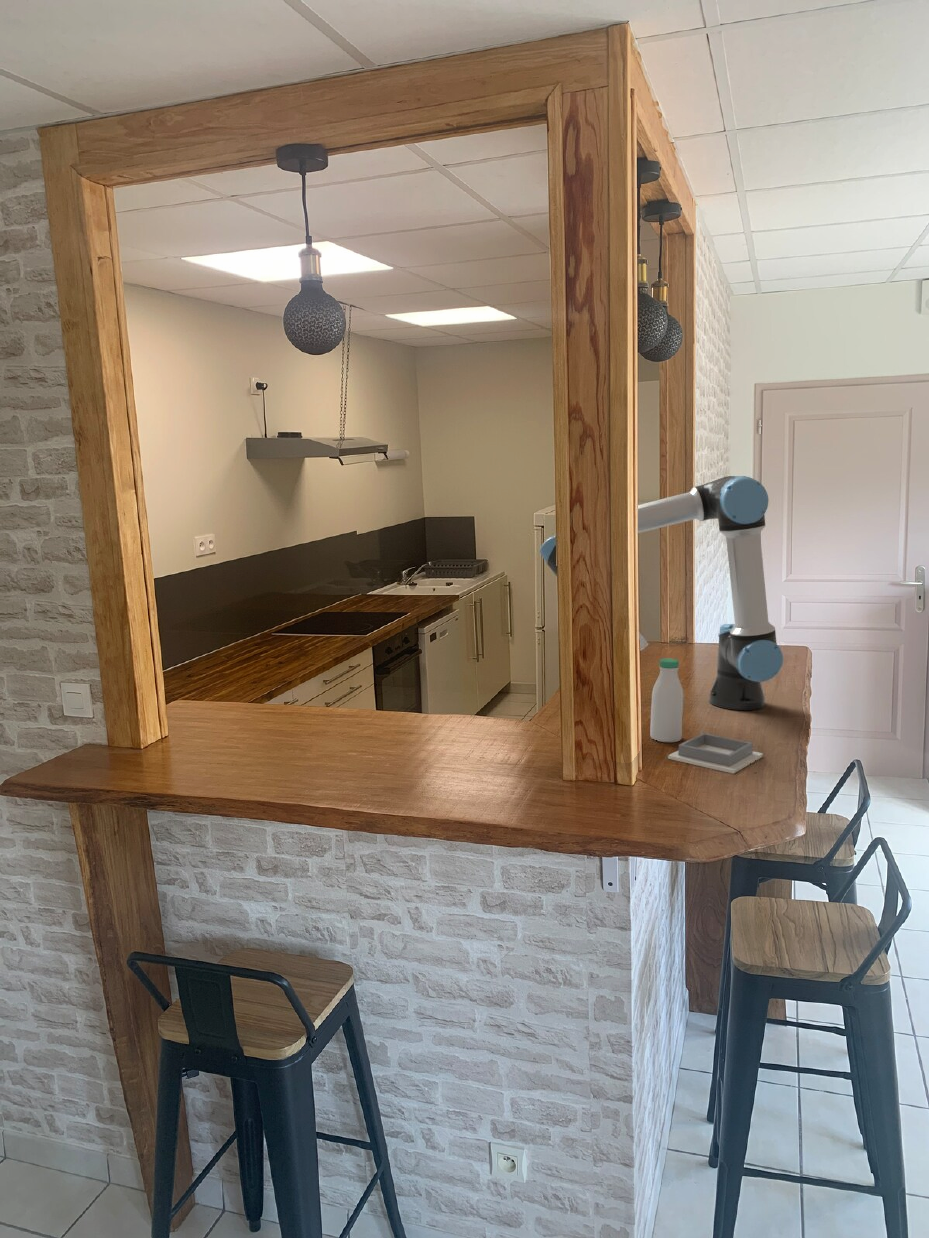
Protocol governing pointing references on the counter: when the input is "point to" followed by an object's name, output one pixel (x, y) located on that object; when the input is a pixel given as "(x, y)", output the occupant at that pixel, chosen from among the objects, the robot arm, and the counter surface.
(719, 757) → the tray
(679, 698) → the milk bottle
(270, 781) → the counter surface
